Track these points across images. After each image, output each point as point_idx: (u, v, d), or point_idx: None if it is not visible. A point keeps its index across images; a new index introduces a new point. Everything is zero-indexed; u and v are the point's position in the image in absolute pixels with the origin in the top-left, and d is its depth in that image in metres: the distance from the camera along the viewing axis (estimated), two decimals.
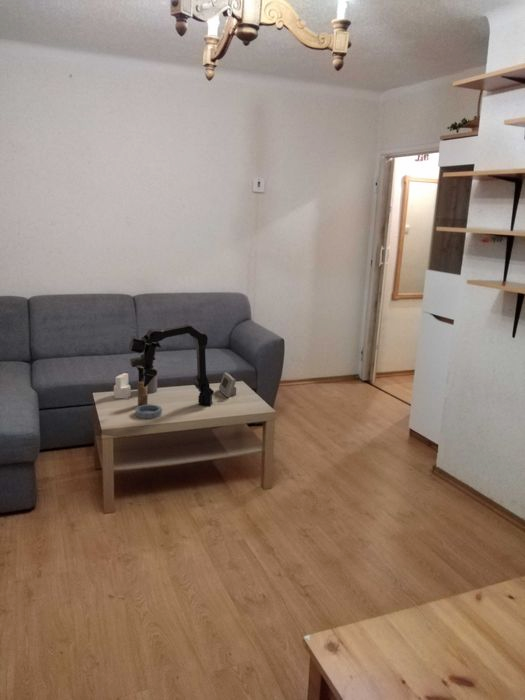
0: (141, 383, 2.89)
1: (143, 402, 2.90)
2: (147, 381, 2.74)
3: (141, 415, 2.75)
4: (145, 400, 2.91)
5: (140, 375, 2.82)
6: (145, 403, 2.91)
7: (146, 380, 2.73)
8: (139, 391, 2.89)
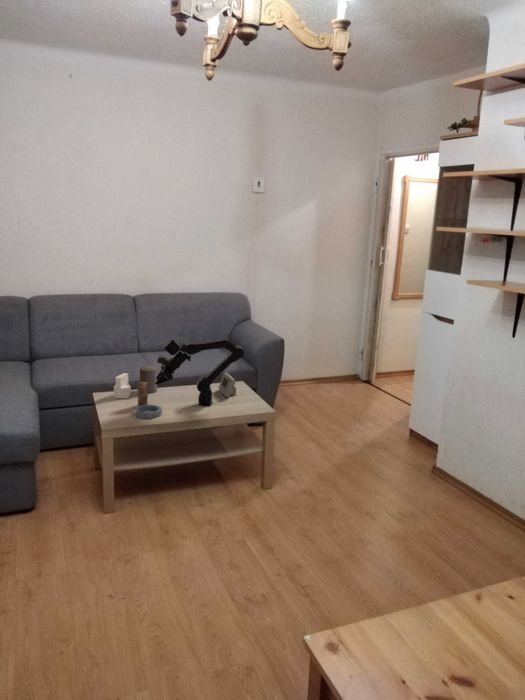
0: (141, 383, 2.89)
1: (143, 402, 2.90)
2: (160, 381, 2.85)
3: (141, 415, 2.75)
4: (145, 400, 2.91)
5: (160, 374, 2.95)
6: (145, 403, 2.91)
7: (160, 379, 2.85)
8: (139, 391, 2.89)
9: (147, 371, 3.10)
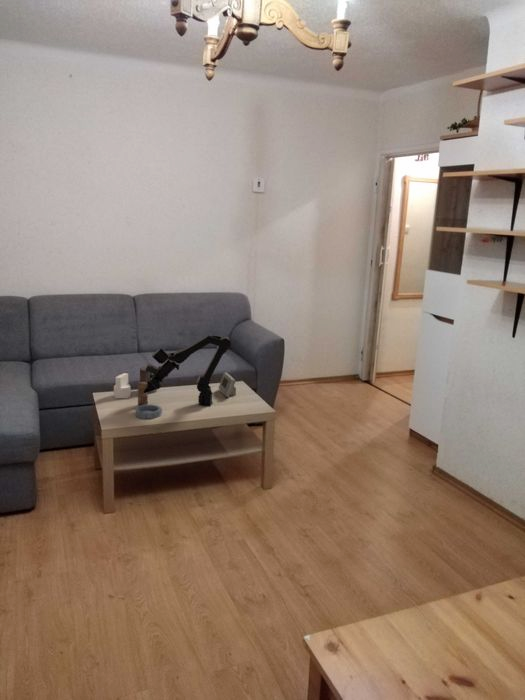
0: (141, 383, 2.89)
1: (143, 402, 2.90)
2: (148, 389, 2.86)
3: (141, 415, 2.75)
4: (145, 400, 2.91)
5: (148, 382, 2.95)
6: (145, 403, 2.91)
7: (148, 388, 2.85)
8: (139, 391, 2.89)
9: None
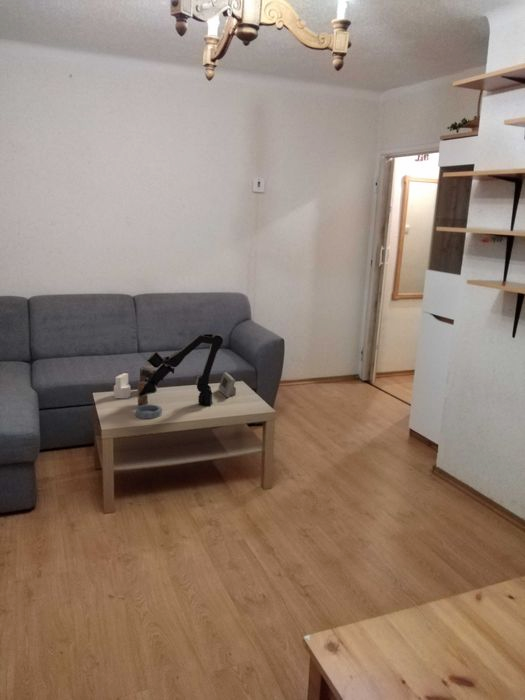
0: (141, 383, 2.89)
1: (143, 402, 2.90)
2: (144, 392, 2.88)
3: (141, 415, 2.75)
4: (145, 400, 2.91)
5: None
6: (145, 403, 2.91)
7: (143, 391, 2.87)
8: (139, 391, 2.89)
9: None
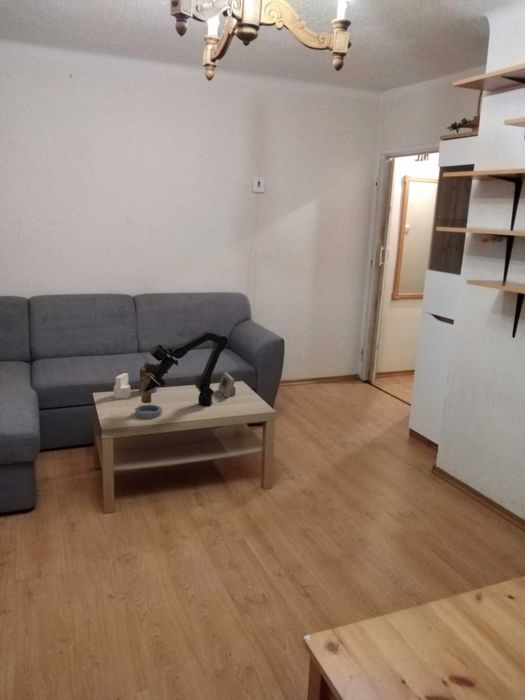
0: (145, 378, 2.78)
1: (148, 397, 2.79)
2: (150, 387, 2.77)
3: (141, 415, 2.75)
4: (150, 395, 2.80)
5: None
6: (150, 399, 2.80)
7: (150, 386, 2.77)
8: (144, 387, 2.77)
9: None
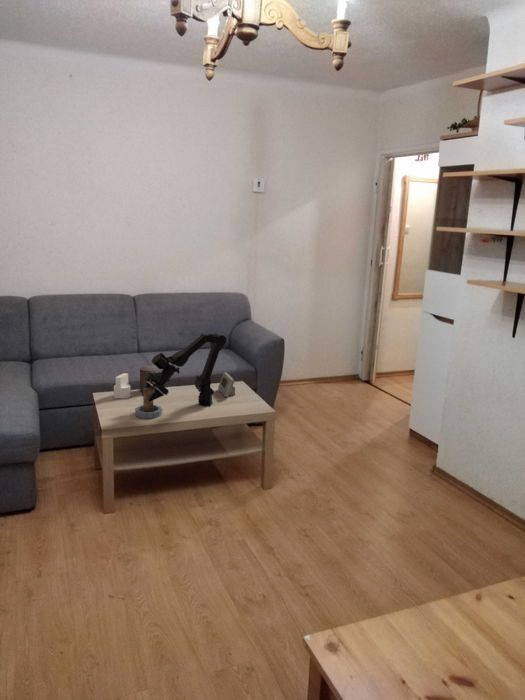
0: (147, 389, 2.77)
1: (151, 408, 2.78)
2: (154, 397, 2.74)
3: (141, 415, 2.75)
4: (152, 406, 2.79)
5: None
6: (152, 409, 2.80)
7: (154, 396, 2.74)
8: (146, 398, 2.76)
9: None
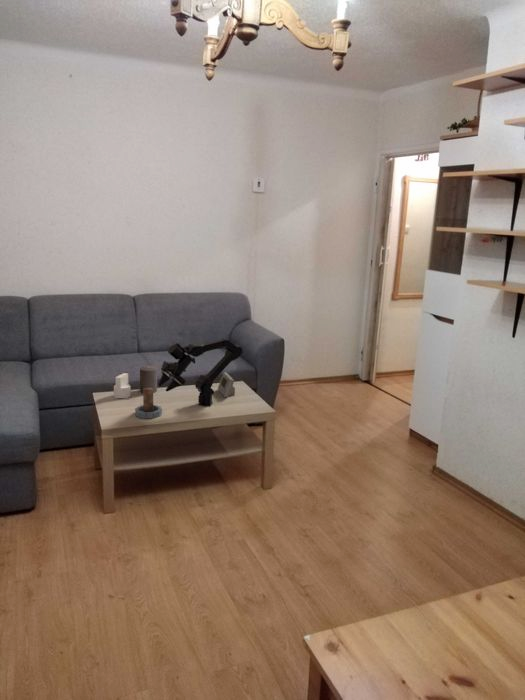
0: (147, 389, 2.77)
1: (151, 408, 2.78)
2: (171, 387, 2.79)
3: (141, 415, 2.75)
4: (152, 406, 2.79)
5: (162, 380, 2.86)
6: (152, 409, 2.80)
7: (171, 386, 2.78)
8: (147, 398, 2.76)
9: (147, 371, 3.10)
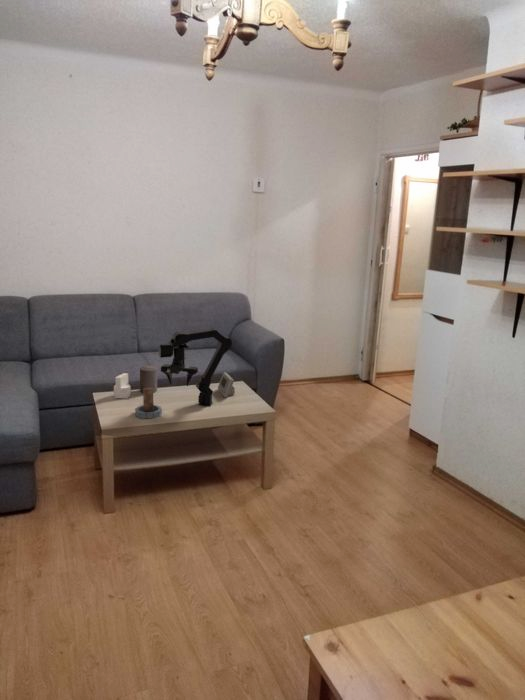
0: (147, 389, 2.77)
1: (151, 408, 2.78)
2: (189, 380, 2.89)
3: (141, 415, 2.75)
4: (152, 406, 2.79)
5: (170, 378, 2.90)
6: (152, 409, 2.80)
7: (189, 379, 2.88)
8: (147, 398, 2.76)
9: (147, 371, 3.10)
